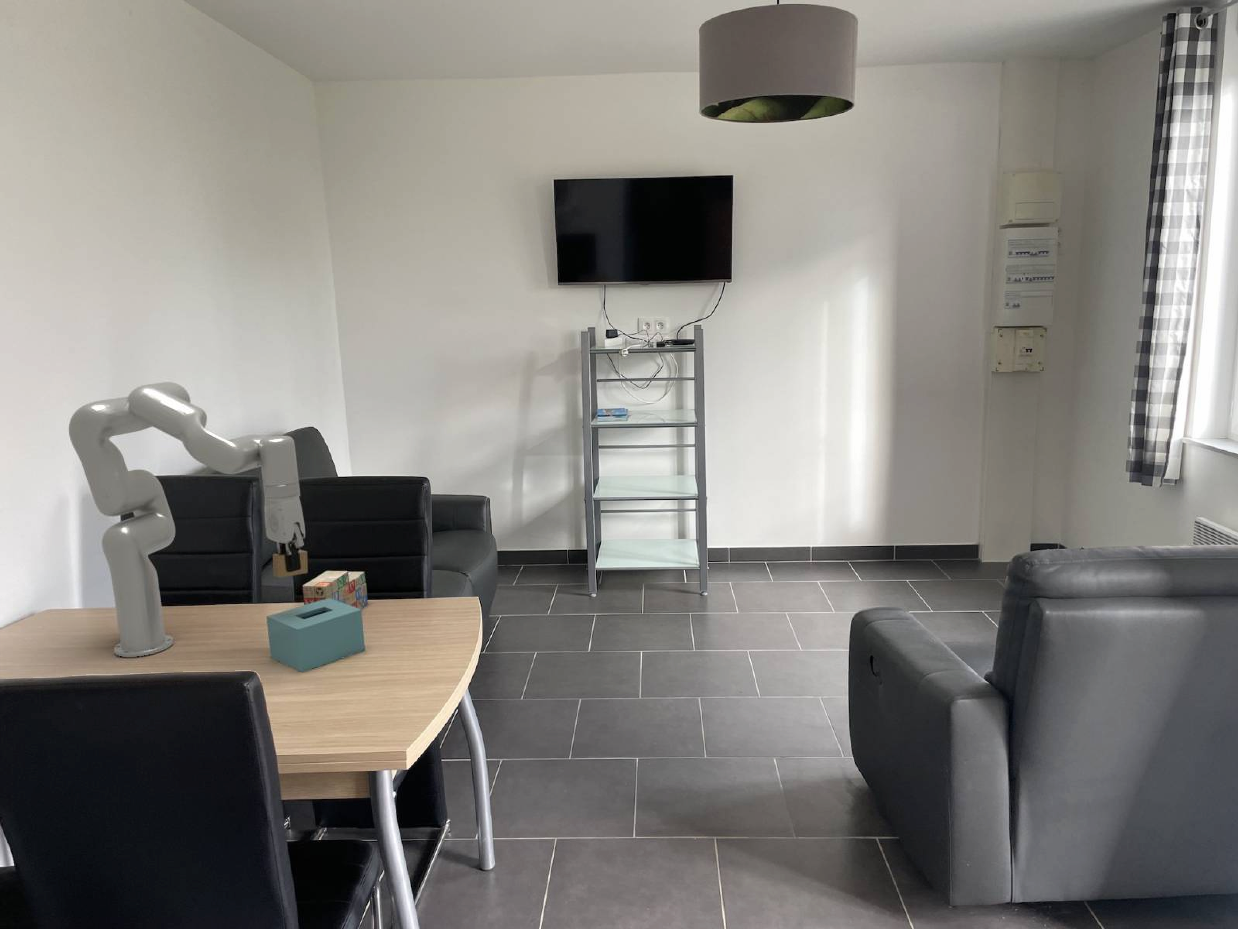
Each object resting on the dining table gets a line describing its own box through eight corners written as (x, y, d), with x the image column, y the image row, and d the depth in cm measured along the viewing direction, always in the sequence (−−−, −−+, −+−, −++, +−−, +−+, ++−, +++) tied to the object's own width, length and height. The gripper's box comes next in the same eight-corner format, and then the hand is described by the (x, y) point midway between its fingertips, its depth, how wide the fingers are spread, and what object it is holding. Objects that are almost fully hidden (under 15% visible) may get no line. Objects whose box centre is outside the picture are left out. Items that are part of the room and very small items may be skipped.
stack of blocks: (346, 604, 243) (343, 560, 240) (368, 604, 241) (364, 560, 239) (306, 632, 222) (301, 585, 220) (329, 633, 221) (325, 585, 219)
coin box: (270, 657, 206) (266, 616, 204) (332, 637, 217) (329, 598, 216) (302, 672, 196) (297, 629, 195) (364, 650, 208) (361, 609, 207)
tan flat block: (302, 571, 206) (273, 576, 201) (301, 550, 206) (272, 554, 201) (307, 572, 205) (278, 577, 200) (307, 551, 204) (278, 555, 199)
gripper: (249, 490, 202) (258, 568, 205) (283, 497, 192) (293, 579, 195) (280, 484, 208) (288, 560, 211) (315, 491, 197) (324, 571, 200)
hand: (290, 569), depth 203 cm, fingers closed on tan flat block, 2 cm apart
